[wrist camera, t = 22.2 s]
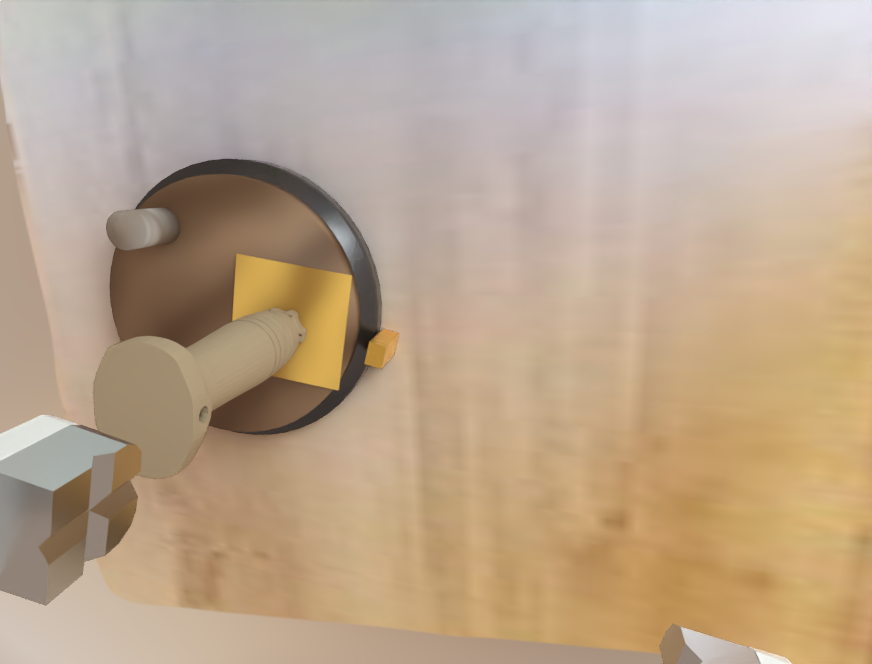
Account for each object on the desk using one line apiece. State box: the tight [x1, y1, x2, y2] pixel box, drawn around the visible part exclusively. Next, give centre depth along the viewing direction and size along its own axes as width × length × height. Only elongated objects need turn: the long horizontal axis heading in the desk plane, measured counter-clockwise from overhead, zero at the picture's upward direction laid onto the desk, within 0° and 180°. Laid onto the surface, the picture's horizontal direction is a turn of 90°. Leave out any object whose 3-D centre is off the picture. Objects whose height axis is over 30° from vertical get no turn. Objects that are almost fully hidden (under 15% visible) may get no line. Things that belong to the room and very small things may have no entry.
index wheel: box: [106, 174, 360, 432], centre depth 40 cm, size 18×18×6 cm
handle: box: [93, 307, 307, 479], centre depth 34 cm, size 5×6×15 cm
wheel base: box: [135, 159, 399, 435], centre depth 43 cm, size 20×21×4 cm
